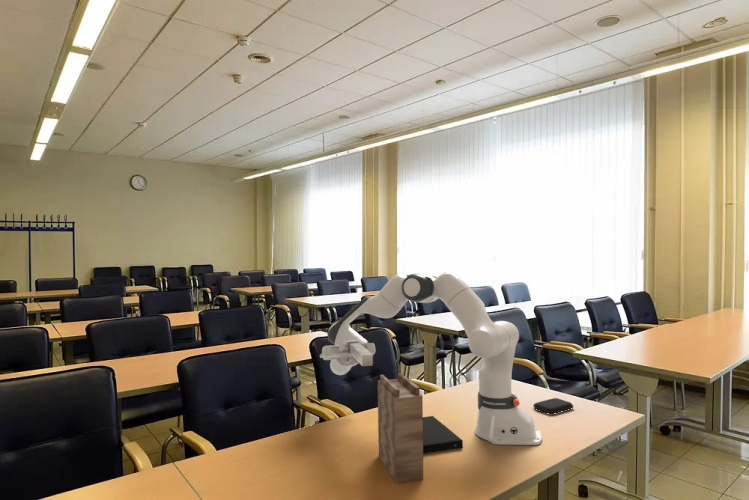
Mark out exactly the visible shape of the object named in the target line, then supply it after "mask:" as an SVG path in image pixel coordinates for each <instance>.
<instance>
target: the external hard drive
mask: <svg viewBox="0 0 749 500" xmlns="http://www.w3.org/2000/svg"><path fill="white" fill-rule="evenodd" d="M463 443H464V442H463V439H461V438H460V437H459V436H458V435H457V434H455V433H454V432H453V431H452V430H451V429H449V427H447V426H446V425H445V424H443V423H442V422H441V421H439V420H438V419H437V418H436V417H435V416H434V415H430V416H423V455H425V454H432V453H438V452H444V451H450V450H451V451H452V450H457V449H458V450H459V449H463V448H464V446H463V445H464V444H463Z"/></svg>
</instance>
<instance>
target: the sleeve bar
mask: <svg viewBox="0 0 749 500" xmlns="http://www.w3.org/2000/svg"><path fill="white" fill-rule="evenodd" d="M345 343H347V345H348V348H347V349H346V350H347V351H348V353H350V354H351V355H352V356H353V357H354V358H355V359H356V360H357V361H358V362H359V363H360V366H361V367H368V366H371V367H372V366H374V364H373V363H374V359H373V358H374V357H373V356H374V355H373V354H371V353H370V352H369V351H368V350H367V349H366V348H364V347H363V346H362V345H361V344H360V343H359V342H358V341H356V340H355V339H345Z"/></svg>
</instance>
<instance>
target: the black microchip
mask: <svg viewBox="0 0 749 500" xmlns="http://www.w3.org/2000/svg"><path fill="white" fill-rule="evenodd" d="M532 406H533V408H534V410H536V409H537V410H540V411H542V412H541V413H543V412H545V413H549V414H554V413H558V412H561V411H565V410H568V409H571V408H572V409H574V404H573V403H571V402H570V401H567V400H564V399H561V398H558V397H553V398H550V399H546V400H542V401H538V402H537V401H536V402H535V403H534V404H533V405H532ZM572 409H571V410H572ZM537 410H536V411H537ZM540 411H539V412H540ZM568 411H569V410H568ZM565 412H566V411H565ZM545 413H544V414H545ZM561 413H562V412H561ZM558 414H559V413H558ZM554 415H555V414H554Z"/></svg>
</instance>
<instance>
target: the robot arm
mask: <svg viewBox="0 0 749 500" xmlns="http://www.w3.org/2000/svg"><path fill="white" fill-rule="evenodd" d="M440 300H441V302H443V304H445V306H446V308H447V309H448V311H450V312H451V313H452V315H453V316H454V317H455V318H456V319H457V320H458V322H459V323H460V324H461V325H460V326H462V328H463V330H464V332H465V334H466V337H467V339H468V342H467V343H468V344H467V345H468V348H469V350H470V352H471V353H472V354H473V355H474V356H475V357H477V358H480V359H482V362H481V365H480V367H479V370H478V392H477V409H478V412H477V414H478V415H477V421H476V425H475V429H474V434H475V435H476V436H477V437H479V438H481V439H484V440H486V441H488V442H489V443H491V444H493V445H505V446H506V445H508V446H511V445H512V446H513V445H514V446H515V445H517V446H518V445H521V446H522V445H523V446H530V445H531V446H533V445H534V446H538V445H540V444H541V443H542V441H543V437H542V436H543V435H542V433H541V431H540V430H539V429H538V428H536V426H535V422H534V419H533V417H532V416H531V414H530V413H528V412H527V411H525V410H524V409H523V408H522V407H520V400H519V399H518V396H517V395H516V394H514V393H512V373H513V372H512V371H513V366H514V360H515V353H516V347H517V344H518V342H519V340H520V332H519V330H518V328H517V326H516V325H515V324H514V323H512V322H510V321H506V320H496V321H493V320H492V319H491V318H490V316H489V313H487V310H486V305H485V302H483V300H482V299H481V298H480V297H479V296H478V295H477V294H476V293H475V291H474V290H473V289H472V288H471V287H470V286H469V285H468V284H467V283H466V282H465V281H464V280H463V279H462V278H461V277H459V276H458V275H457V274H455V273H454V272H452V271H446V272H443V273H441V274H440V275H439V276H436V275H435V276H434V275H429V274H427V273H412V274H409V275H405V274H401V273H397V274H395V275H394V276H392V278H390V279H389V280H388V281H387V282H386V283H385V284H384V285H383V287H382V288H381V289H380V290H379V292H378V293H376V294H375V295H373V296H370V295H366V296H364V298H362V299H361V300H359V302H358V303H356V304H355V305H354V306H353V307H352V308H351V309H350V310H349V311H347V312H346V313H345V315H344V316H342V317H341V318H340V319H338V320H337V321H335V323H333V324H331V326H330V327H329V329H328V331H327V332H326V333H327V335H326V336H327V339H328V342H330V343H331V344H332V345H324V346H323V347H322V349H321V353H320V354H319V358H320V359H323V360H324V361H330V362H329V363H330V364H329V366H330V370H331V371H332V373H333V374H335V375H338V376H343V375H346V374H347V373H348V372H349V371H350V370H351V369H352V367H354V366H356V365H359V364H360V363H359V362H358V361H357V360H356V359H355V358H354V357H353V356H352V355H351V354H350V353H348V351H347V350H346V349H347V348H348V345H347V343H345V339H355V340H356V341H358V342H359V343H360V344H361V345H362V346H363V347H364V348H366V349H367V350H368V351H369V352H370V353H371V354H373V356H374V355H375V354H376V345H375V343H374V342H369V341H368V340H367V339H366V338H364V337H363V336H362V335H361V334H359V333H358V332H357V331H356V330H354V328H352V327H351V326H350V324H351V323H352V322H353V321H354V320H355V319H356V318H358V317H359V316H360V315H362V314H367V315H368V314H369V315H371V316H374V317H377V318H381V319H391V318H393V317H395V316H396V315H397V314H398V313H399V312H400V311H401V310H402V308H403V307H404V306H405V305H406V303H407V302H408V301H410V302H414V303H421V304H429V303H431V304H432V303H436V302H438V301H440ZM360 365H361V364H360Z"/></svg>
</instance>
